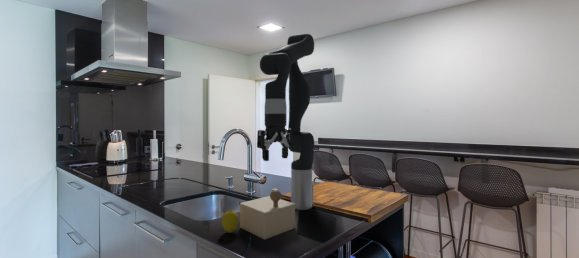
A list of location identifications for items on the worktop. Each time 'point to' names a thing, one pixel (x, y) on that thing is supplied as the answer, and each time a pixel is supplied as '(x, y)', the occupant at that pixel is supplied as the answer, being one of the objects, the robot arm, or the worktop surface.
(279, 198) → the lid
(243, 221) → the carton
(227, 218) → the lemon
